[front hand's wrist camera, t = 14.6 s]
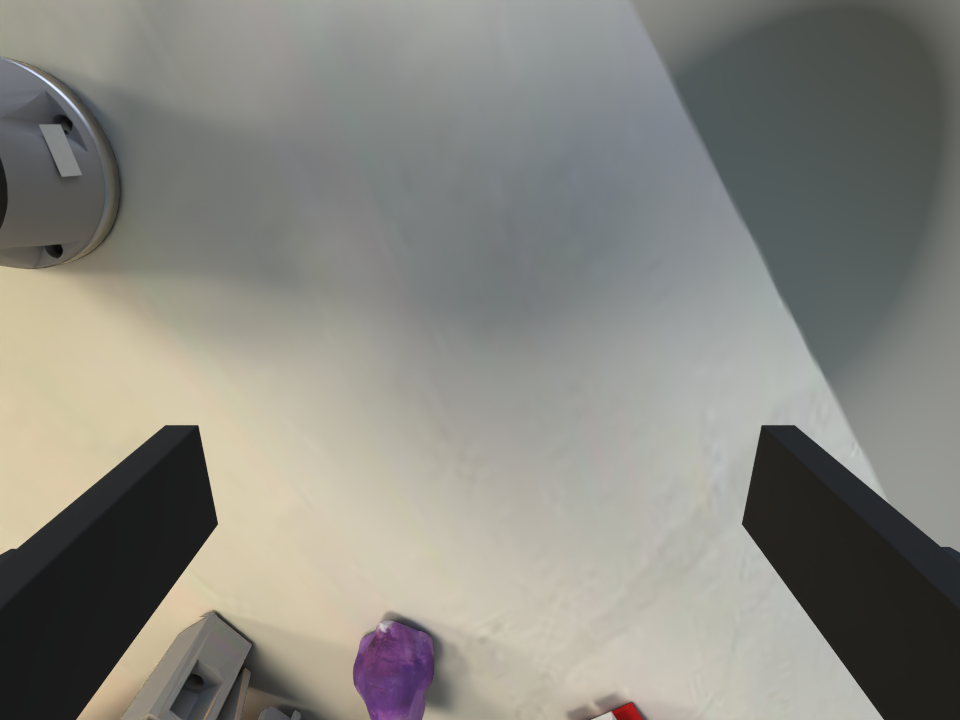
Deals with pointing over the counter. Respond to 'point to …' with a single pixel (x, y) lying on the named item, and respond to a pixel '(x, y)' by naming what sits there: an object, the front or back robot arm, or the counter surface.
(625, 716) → the toy
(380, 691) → the figurine
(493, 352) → the counter surface
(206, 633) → the record storage crate
